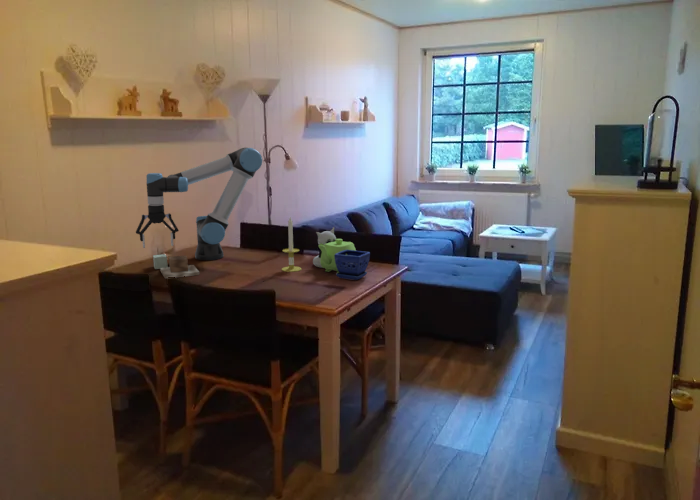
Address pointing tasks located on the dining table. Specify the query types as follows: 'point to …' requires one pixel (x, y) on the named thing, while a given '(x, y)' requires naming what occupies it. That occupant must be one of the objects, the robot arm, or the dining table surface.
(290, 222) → the candle
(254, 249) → the dining table surface
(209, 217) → the robot arm
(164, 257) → the sage cube
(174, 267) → the walnut block
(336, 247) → the teapot
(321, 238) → the decorative figurine
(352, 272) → the flower pot
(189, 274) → the build board
